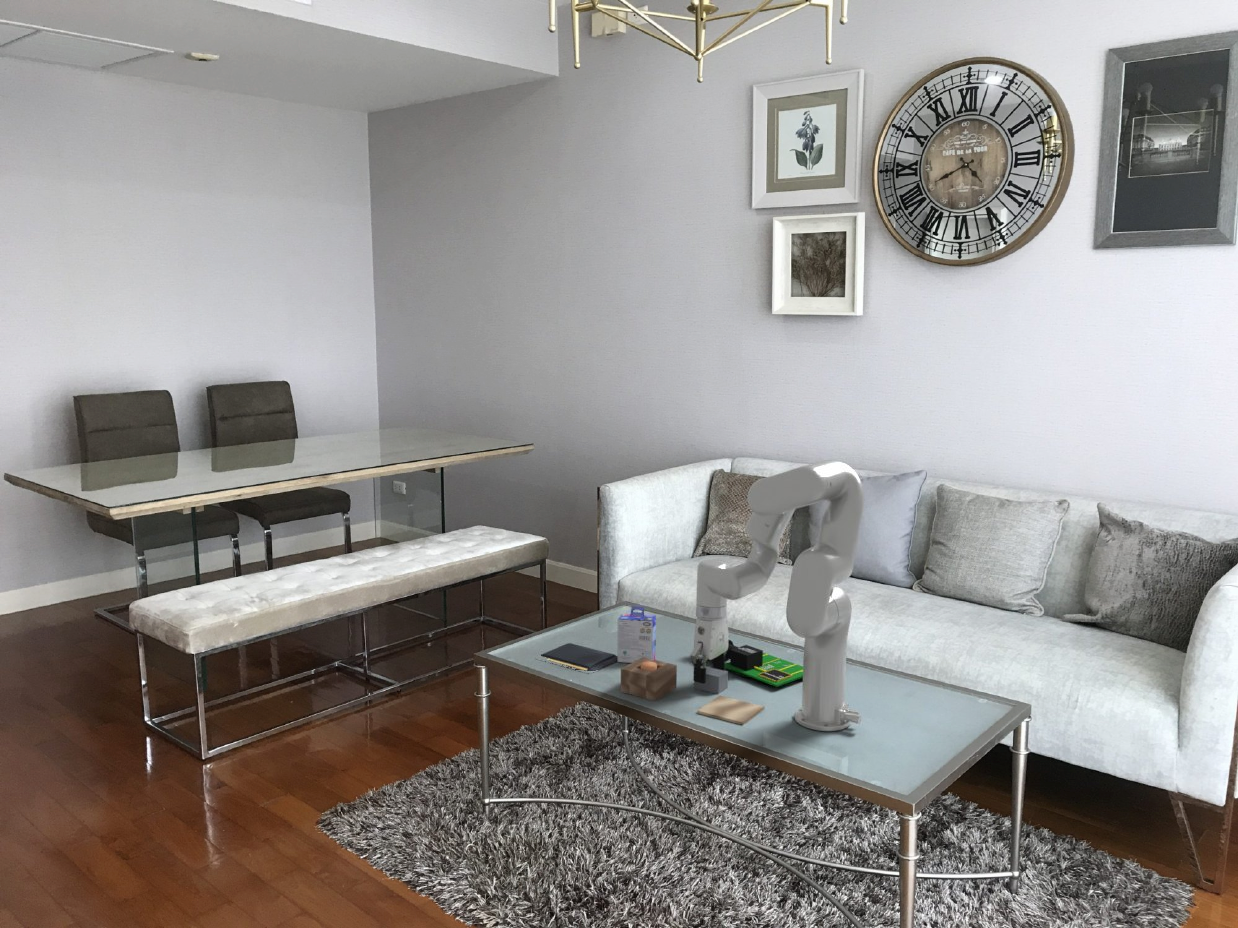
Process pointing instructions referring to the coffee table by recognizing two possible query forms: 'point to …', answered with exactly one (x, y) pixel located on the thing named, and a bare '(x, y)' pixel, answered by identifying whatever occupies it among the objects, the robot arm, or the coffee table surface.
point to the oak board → (731, 710)
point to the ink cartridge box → (636, 636)
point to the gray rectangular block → (714, 681)
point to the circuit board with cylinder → (761, 665)
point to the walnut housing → (649, 679)
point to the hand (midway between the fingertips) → (709, 676)
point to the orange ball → (648, 666)
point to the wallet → (581, 657)
